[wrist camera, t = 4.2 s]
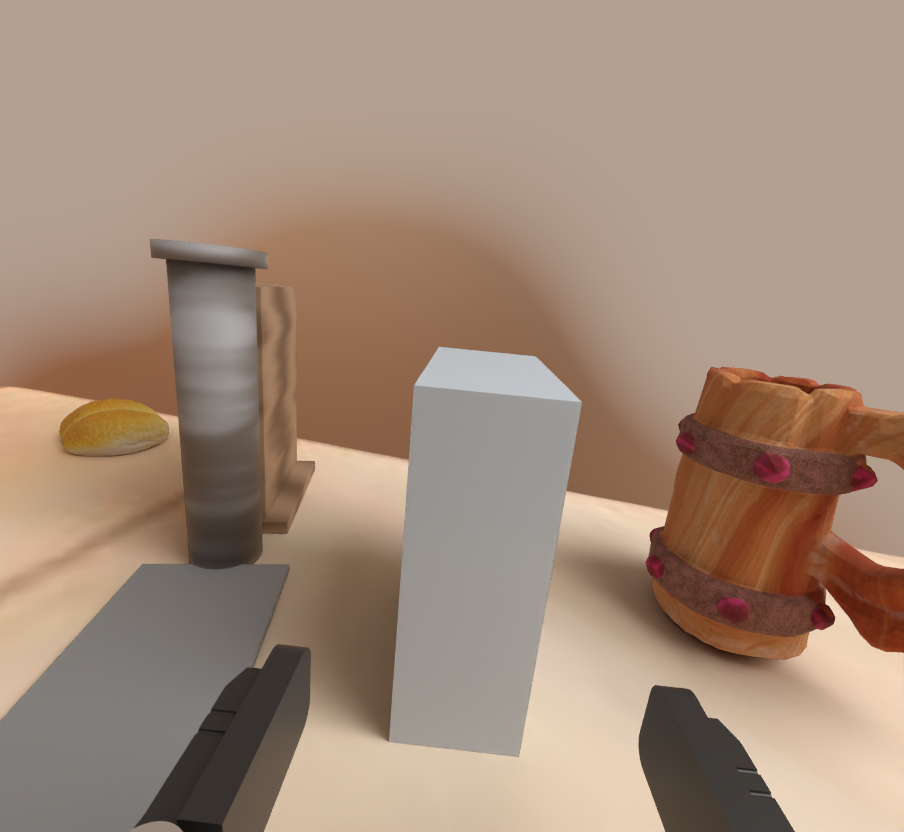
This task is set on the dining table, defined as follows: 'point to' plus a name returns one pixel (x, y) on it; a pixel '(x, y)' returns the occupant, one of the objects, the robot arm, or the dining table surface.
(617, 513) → the dining table surface
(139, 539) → the dining table surface
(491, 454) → the light grey block
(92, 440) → the bread roll
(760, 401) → the mug
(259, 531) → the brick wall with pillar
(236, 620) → the seat pad
